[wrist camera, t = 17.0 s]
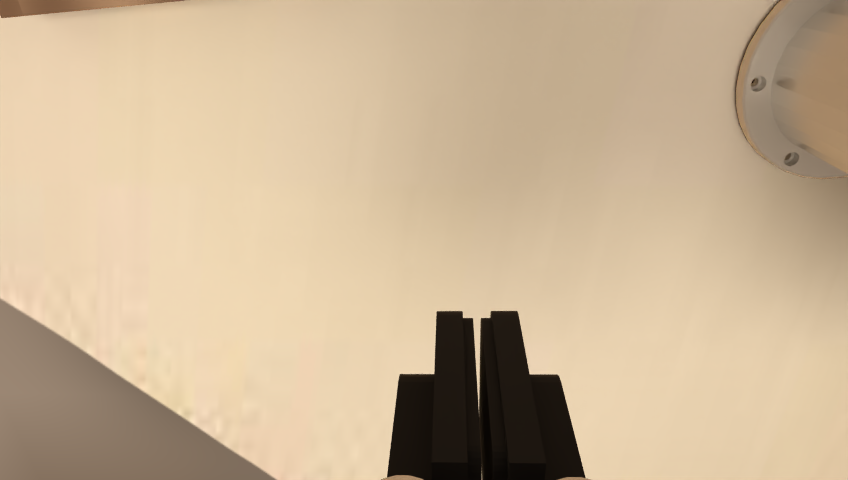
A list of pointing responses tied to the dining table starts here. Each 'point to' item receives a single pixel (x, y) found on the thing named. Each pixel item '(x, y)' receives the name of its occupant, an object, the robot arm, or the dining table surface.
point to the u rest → (63, 6)
